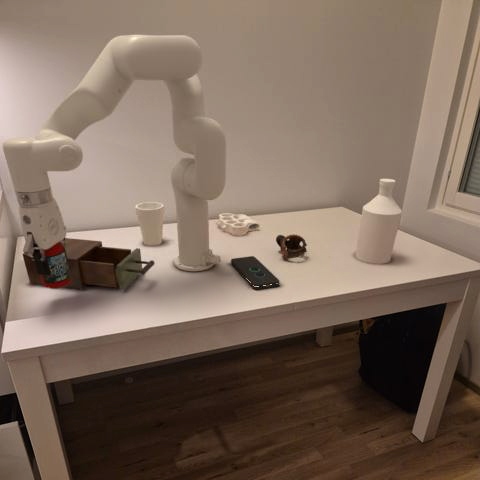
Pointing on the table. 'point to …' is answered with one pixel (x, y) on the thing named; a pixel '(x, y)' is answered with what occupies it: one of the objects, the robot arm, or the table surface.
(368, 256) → the bottle
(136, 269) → the drawer
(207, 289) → the table surface
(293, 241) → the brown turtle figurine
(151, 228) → the foam cup
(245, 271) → the black flat slab
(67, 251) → the cabinet
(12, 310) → the table surface
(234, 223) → the white multi well tray
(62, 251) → the beverage can
